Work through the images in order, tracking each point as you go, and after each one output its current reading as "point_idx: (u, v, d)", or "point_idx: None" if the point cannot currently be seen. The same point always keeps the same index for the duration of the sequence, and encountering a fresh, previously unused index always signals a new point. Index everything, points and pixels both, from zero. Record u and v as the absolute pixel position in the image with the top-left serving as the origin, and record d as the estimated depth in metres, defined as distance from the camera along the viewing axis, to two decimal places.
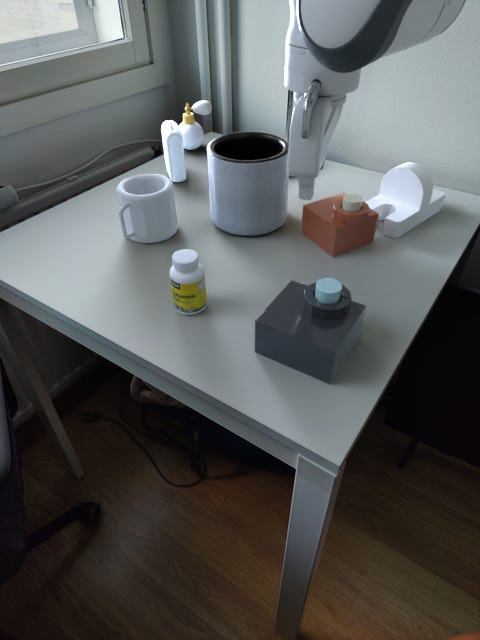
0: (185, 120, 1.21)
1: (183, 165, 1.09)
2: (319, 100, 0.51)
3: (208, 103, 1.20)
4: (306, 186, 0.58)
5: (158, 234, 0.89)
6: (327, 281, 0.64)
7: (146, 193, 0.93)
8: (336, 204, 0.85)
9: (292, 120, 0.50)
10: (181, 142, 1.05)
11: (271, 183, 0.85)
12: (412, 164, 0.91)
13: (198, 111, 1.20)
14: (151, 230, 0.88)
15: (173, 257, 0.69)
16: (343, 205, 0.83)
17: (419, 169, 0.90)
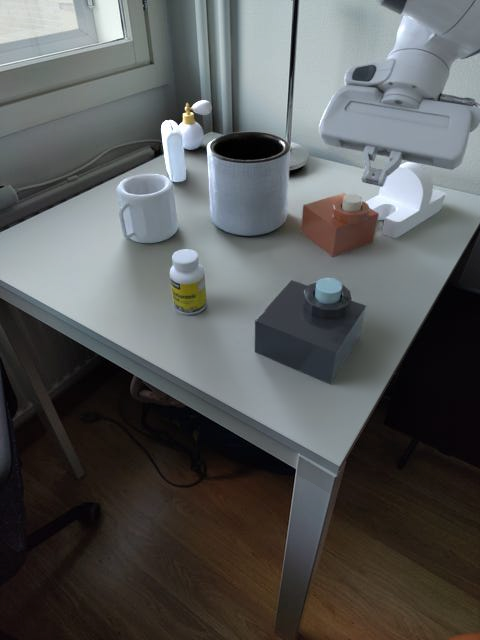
0: (185, 120, 1.21)
1: (183, 165, 1.09)
2: None
3: (208, 103, 1.20)
4: (388, 173, 0.64)
5: (158, 234, 0.89)
6: (327, 281, 0.64)
7: (146, 193, 0.93)
8: (336, 204, 0.85)
9: (470, 114, 0.59)
10: (181, 142, 1.05)
11: (271, 183, 0.85)
12: (412, 164, 0.91)
13: (198, 111, 1.20)
14: (151, 230, 0.88)
15: (173, 257, 0.69)
16: (343, 205, 0.83)
17: (419, 169, 0.90)
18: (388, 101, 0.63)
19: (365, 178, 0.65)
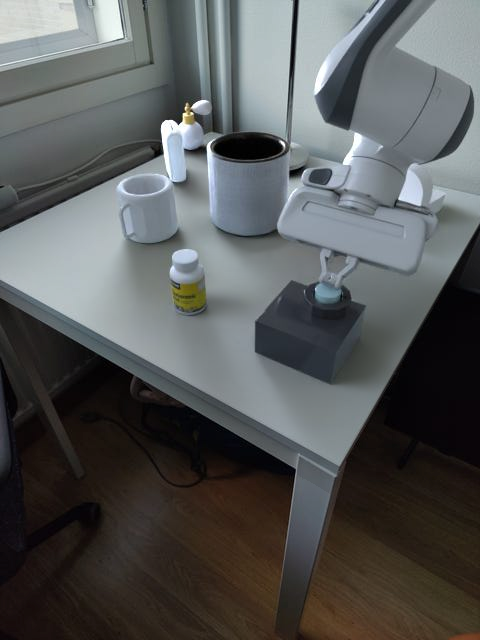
0: (185, 120, 1.21)
1: (183, 165, 1.09)
2: None
3: (208, 103, 1.20)
4: (344, 276, 0.63)
5: (158, 234, 0.89)
6: (326, 285, 0.65)
7: (146, 193, 0.93)
8: None
9: (424, 225, 0.59)
10: (181, 142, 1.05)
11: (271, 183, 0.85)
12: (412, 164, 0.91)
13: (198, 111, 1.20)
14: (151, 230, 0.88)
15: (173, 257, 0.69)
16: None
17: (419, 169, 0.90)
18: (344, 206, 0.62)
19: (322, 281, 0.64)
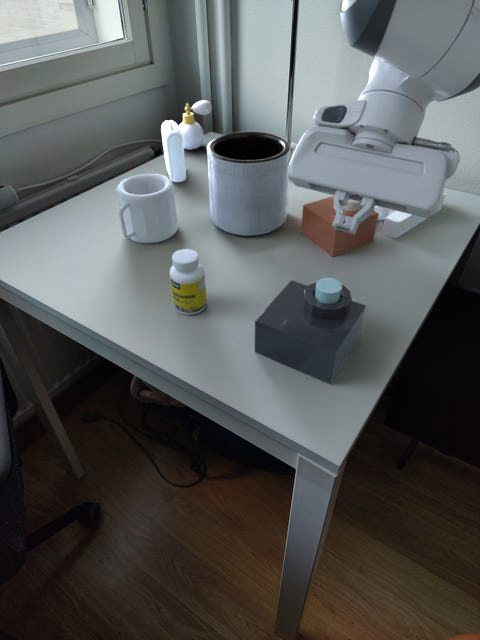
0: (185, 120, 1.21)
1: (183, 165, 1.09)
2: None
3: (208, 103, 1.20)
4: (360, 220, 0.60)
5: (158, 234, 0.89)
6: (327, 281, 0.64)
7: (146, 193, 0.93)
8: None
9: (446, 161, 0.55)
10: (181, 142, 1.05)
11: (271, 183, 0.85)
12: None
13: (198, 111, 1.20)
14: (151, 230, 0.88)
15: (173, 257, 0.69)
16: None
17: None
18: (359, 144, 0.59)
19: (336, 225, 0.60)
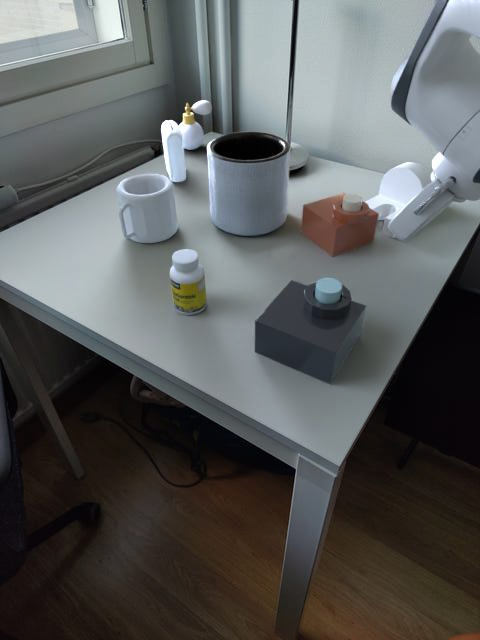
0: (185, 120, 1.21)
1: (183, 165, 1.09)
2: (445, 193, 0.62)
3: (208, 103, 1.20)
4: None
5: (158, 234, 0.89)
6: (327, 281, 0.64)
7: (146, 193, 0.93)
8: (336, 204, 0.85)
9: (416, 196, 0.61)
10: (181, 142, 1.05)
11: (271, 183, 0.85)
12: (412, 164, 0.91)
13: (198, 111, 1.20)
14: (151, 230, 0.88)
15: (173, 257, 0.69)
16: (343, 205, 0.83)
17: (419, 169, 0.90)
18: None
19: None
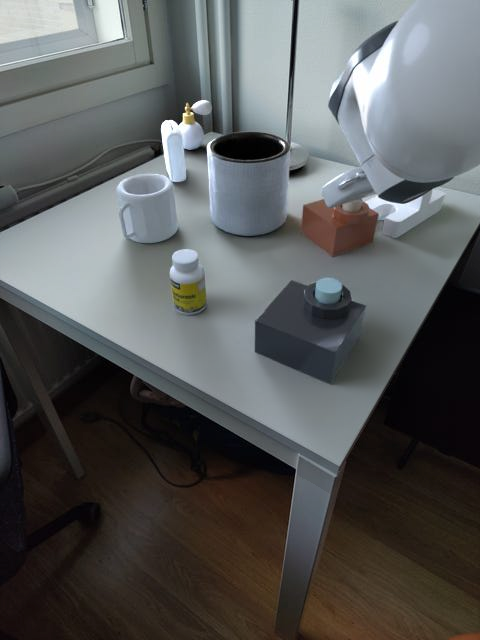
0: (185, 120, 1.21)
1: (183, 165, 1.09)
2: None
3: (208, 103, 1.20)
4: None
5: (158, 234, 0.89)
6: (327, 281, 0.64)
7: (146, 193, 0.93)
8: None
9: (343, 173, 0.69)
10: (181, 142, 1.05)
11: (271, 183, 0.85)
12: None
13: (198, 111, 1.20)
14: (151, 230, 0.88)
15: (173, 257, 0.69)
16: (343, 206, 0.84)
17: None
18: None
19: None
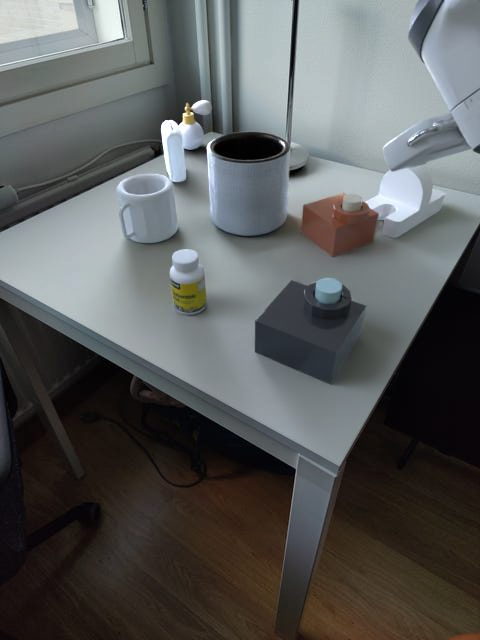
0: (185, 120, 1.21)
1: (183, 165, 1.09)
2: (450, 132, 0.56)
3: (208, 103, 1.20)
4: None
5: (158, 234, 0.89)
6: (327, 281, 0.64)
7: (146, 193, 0.93)
8: (336, 204, 0.85)
9: (415, 125, 0.56)
10: (181, 142, 1.05)
11: (271, 183, 0.85)
12: None
13: (198, 111, 1.20)
14: (151, 230, 0.88)
15: (173, 257, 0.69)
16: (343, 205, 0.83)
17: (418, 169, 0.90)
18: None
19: None
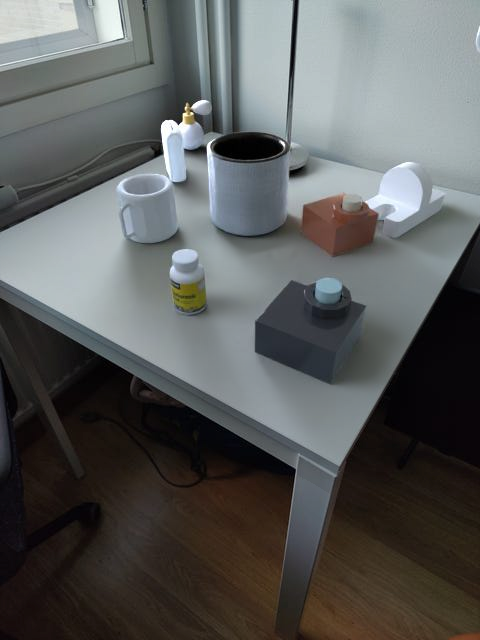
0: (185, 120, 1.21)
1: (183, 165, 1.09)
2: None
3: (208, 103, 1.20)
4: None
5: (158, 234, 0.89)
6: (327, 281, 0.64)
7: (146, 193, 0.93)
8: (336, 204, 0.85)
9: None
10: (181, 142, 1.05)
11: (271, 183, 0.85)
12: (412, 164, 0.91)
13: (198, 111, 1.20)
14: (151, 230, 0.88)
15: (173, 257, 0.69)
16: (343, 205, 0.83)
17: (418, 168, 0.90)
18: None
19: None
